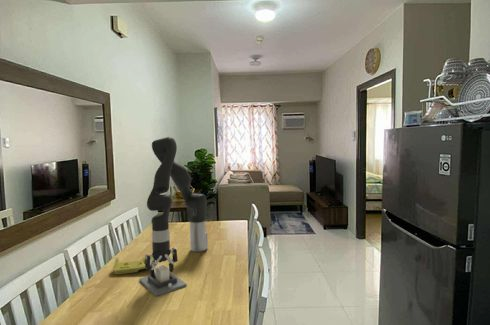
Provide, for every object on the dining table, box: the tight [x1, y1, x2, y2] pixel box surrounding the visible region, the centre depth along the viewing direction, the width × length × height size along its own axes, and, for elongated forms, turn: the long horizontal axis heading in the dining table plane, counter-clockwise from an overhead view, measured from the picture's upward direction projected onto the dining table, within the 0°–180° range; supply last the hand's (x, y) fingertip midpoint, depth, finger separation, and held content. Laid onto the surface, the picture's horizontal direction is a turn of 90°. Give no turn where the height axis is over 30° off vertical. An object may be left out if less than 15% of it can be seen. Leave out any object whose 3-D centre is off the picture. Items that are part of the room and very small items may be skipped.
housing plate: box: [138, 271, 187, 297], centre depth 135 cm, size 14×19×3 cm
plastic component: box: [112, 256, 154, 275], centre depth 151 cm, size 20×7×10 cm
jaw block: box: [154, 264, 170, 283], centre depth 135 cm, size 4×6×6 cm, turn 39°
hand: (162, 274), depth 135 cm, fingers open, 8 cm apart
